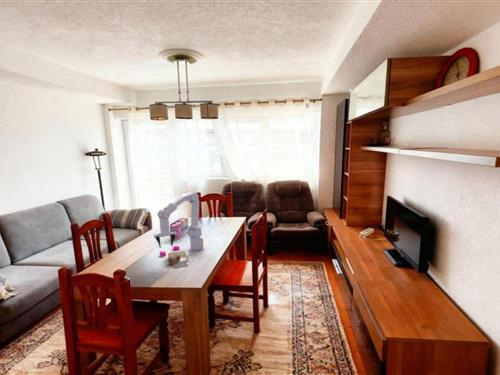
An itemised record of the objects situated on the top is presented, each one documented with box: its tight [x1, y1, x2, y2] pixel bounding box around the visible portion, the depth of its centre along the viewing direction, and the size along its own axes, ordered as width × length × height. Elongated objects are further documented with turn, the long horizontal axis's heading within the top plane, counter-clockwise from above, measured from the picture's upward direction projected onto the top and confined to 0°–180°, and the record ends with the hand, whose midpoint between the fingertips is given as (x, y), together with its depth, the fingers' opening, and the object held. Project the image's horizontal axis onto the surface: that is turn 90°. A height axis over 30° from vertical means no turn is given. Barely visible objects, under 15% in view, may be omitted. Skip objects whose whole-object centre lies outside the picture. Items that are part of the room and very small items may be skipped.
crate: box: [165, 249, 189, 265], centre depth 187 cm, size 14×10×4 cm
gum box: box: [169, 217, 189, 241], centre depth 237 cm, size 22×7×13 cm, turn 168°
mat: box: [172, 261, 189, 269], centre depth 178 cm, size 9×7×1 cm
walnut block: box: [167, 254, 180, 266], centre depth 181 cm, size 4×4×7 cm
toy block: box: [159, 244, 181, 257], centre depth 201 cm, size 15×6×8 cm, turn 145°
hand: (166, 246), depth 184 cm, fingers open, 7 cm apart
